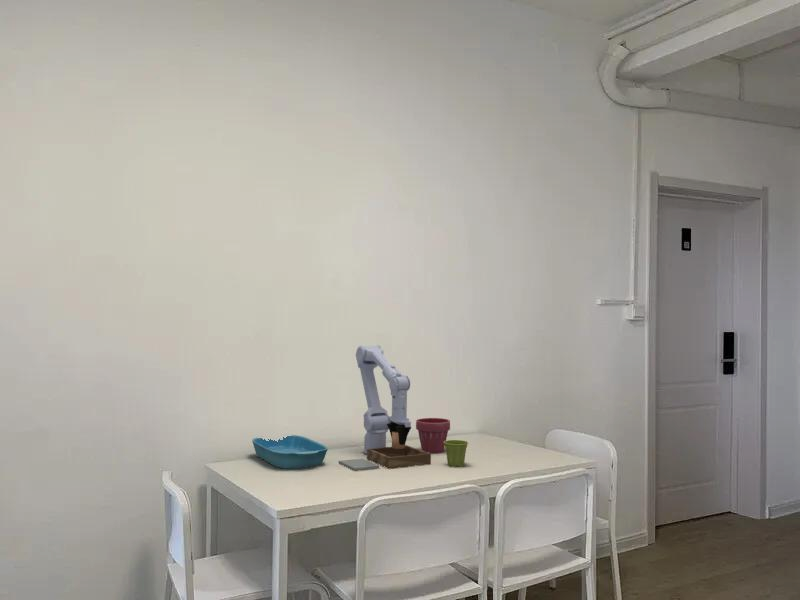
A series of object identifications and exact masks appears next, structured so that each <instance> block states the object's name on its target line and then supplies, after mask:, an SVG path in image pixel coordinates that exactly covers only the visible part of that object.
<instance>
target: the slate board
mask: <svg viewBox="0 0 800 600" xmlns="http://www.w3.org/2000/svg"><path fill="white" fill-rule="evenodd" d="M338 465H341V466H343V465H344V466H343V467H345V466H346V467H345V468H347V467H348V468H347V469H349V468H350V469H349V470H351V469H352V471H353V470H354V471H353V472H359V471H358V470H361V471H368V470H367V469H370V470H376V469H375V468H379V469H380V465H379V464H377V463H374V462H372V461H370V460H367V459H364V458H354V459H343V460H338Z"/></svg>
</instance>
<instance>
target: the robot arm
mask: <svg viewBox="0 0 800 600" xmlns="http://www.w3.org/2000/svg"><path fill="white" fill-rule="evenodd" d="M355 357H356V358H355V359H356V362H357V363H356V364H357V367H358V369H359V370H360V376H361V381H362V385H363V389H364V394H365V399H366V404H367V405H366V406H367V410H366V411H365V412H364V414H363V428H364V430H365V432H366V433H365V435H364V437H363V438H364V442H363V443H364V448H363V449H364V450H362V451H361V453H363V454H366V455H367V449H373V448H384V447H387V433H388V432H389V434H390V436H391V439H392V431H398V435H399V444H400V445H404V444H405V445H406V442H407V438H408V435H409V433H410V431H411V429H412V426H411V424H412V422H411V421H410V419H409V418H408V417H407V416H408V415H407V410H408V409H407V408H408V391H409V390H410V388H411V381H410V378H409V376H407V375H403V374H401V372H400V371H399V369H397V367H396V366H395V364H391V363H389V361H388V360H387V358H386V357H385V355H384V349H383V348H382V346H381V345H380V344H379V345H359V346H358V347H357V349H356V353H355ZM377 367H378V368H380V369H381V370H382V371H381V372H382V373H381V374H382V376H383V377H384V378H385V380H386V381H387V382H388V386H389V390H390V395H391V416H389V414H388V413H389V412H388V410H386V409H385V408H384V407H382V405H381V402H380V401H381V400H380V397H379V392H378V387H377V382H376V377H375V373H374V369H375V368H377Z"/></svg>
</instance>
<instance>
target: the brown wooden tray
mask: <svg viewBox="0 0 800 600" xmlns="http://www.w3.org/2000/svg"><path fill="white" fill-rule="evenodd" d="M431 456H432V453H428V452H425V451H422V449H419V448H415V447H413V446H410V445H406V444H405V448H404V449H394V448H392V446H386V447H384V448H373V449H367V454H366V460H367V459H368V460H367V461H370V460H371V461H370V462H372V461H373V462H372V463H374V462H375V463H374V464H377V463H378V464H377V465H379V464H380V465H379V466H381V465H383V466H382V467H384V466H385V467H384V468H386V467H387V468H386V469H388V468H392V469H399V468H398V467H401V468H406V467H405V466H410V467H416V466H415V465H419V466H425V465H424V464H428V465H431V463H432V459H431V458H432V457H431Z"/></svg>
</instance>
